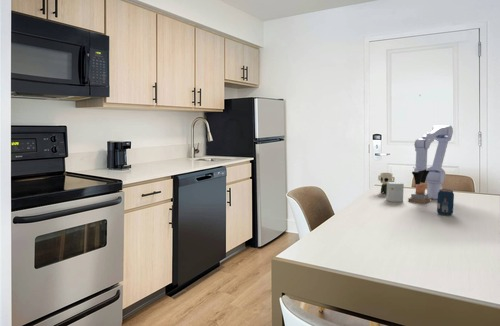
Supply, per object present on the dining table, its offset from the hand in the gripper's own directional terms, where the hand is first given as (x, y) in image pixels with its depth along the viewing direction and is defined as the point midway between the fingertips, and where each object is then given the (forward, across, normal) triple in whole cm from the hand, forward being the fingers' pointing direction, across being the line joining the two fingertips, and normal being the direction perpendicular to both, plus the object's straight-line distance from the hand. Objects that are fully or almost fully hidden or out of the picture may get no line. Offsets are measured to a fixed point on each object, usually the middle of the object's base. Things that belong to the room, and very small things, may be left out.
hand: (420, 183), depth 203 cm
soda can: (+11, +22, +20) cm, 32 cm away
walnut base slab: (+11, 0, 0) cm, 11 cm away
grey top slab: (+8, 0, 0) cm, 9 cm away
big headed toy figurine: (+11, -9, -24) cm, 28 cm away
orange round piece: (+6, 0, 0) cm, 6 cm away
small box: (+11, +8, -11) cm, 17 cm away
